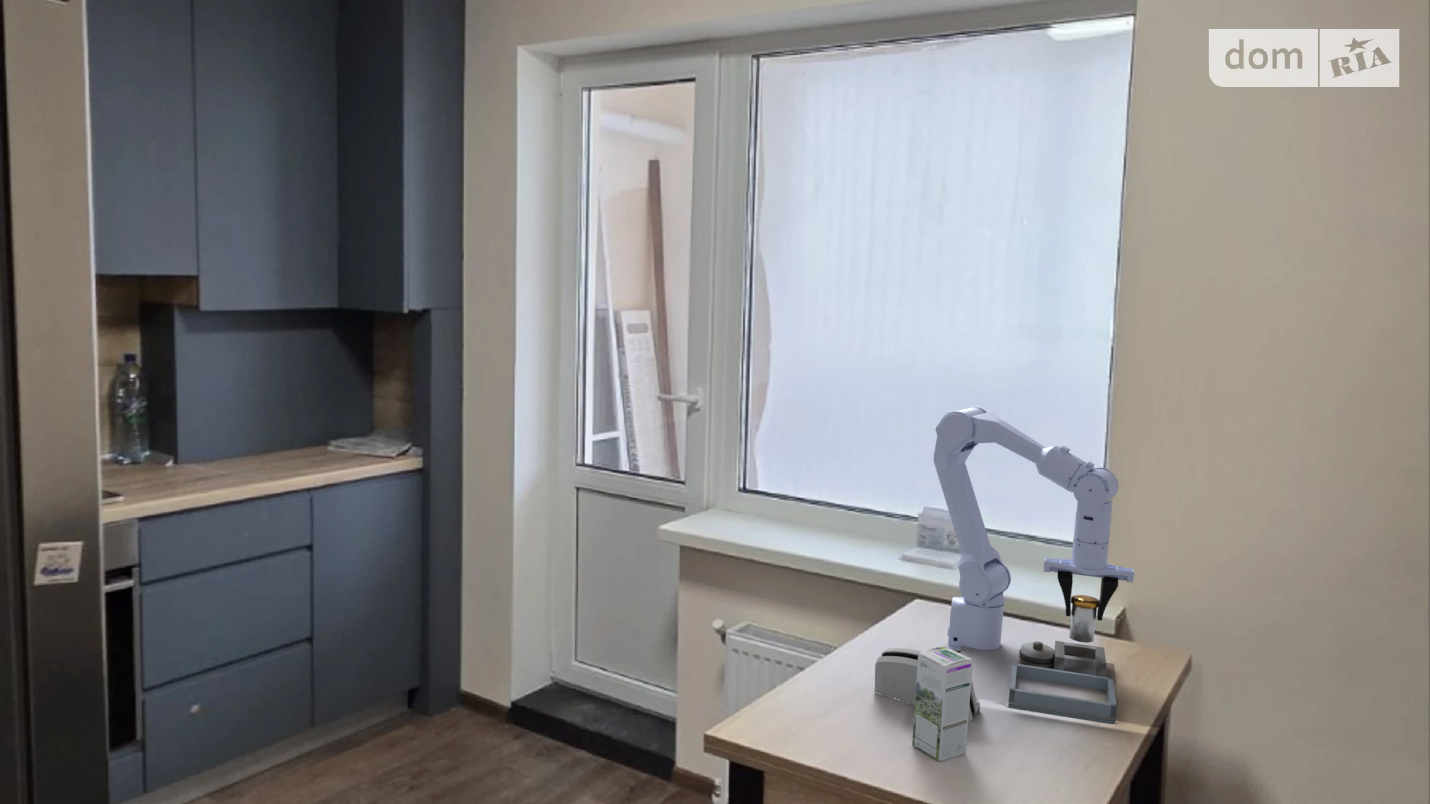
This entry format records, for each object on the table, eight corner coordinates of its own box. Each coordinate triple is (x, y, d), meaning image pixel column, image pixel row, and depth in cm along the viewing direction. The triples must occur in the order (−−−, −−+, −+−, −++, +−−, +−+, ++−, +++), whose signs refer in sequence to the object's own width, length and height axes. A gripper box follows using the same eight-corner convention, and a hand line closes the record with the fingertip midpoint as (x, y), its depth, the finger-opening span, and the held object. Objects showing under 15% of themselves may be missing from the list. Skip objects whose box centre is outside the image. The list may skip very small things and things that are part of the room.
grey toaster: (982, 712, 170) (979, 661, 166) (970, 731, 167) (966, 679, 163) (887, 683, 180) (881, 634, 176) (874, 700, 176) (867, 651, 172)
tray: (1008, 707, 172) (1009, 689, 172) (1010, 679, 183) (1012, 663, 183) (1114, 724, 168) (1116, 706, 167) (1110, 695, 179) (1112, 678, 178)
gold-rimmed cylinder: (1067, 640, 185) (1071, 601, 184) (1067, 632, 189) (1071, 593, 188) (1096, 644, 184) (1100, 605, 183) (1094, 635, 188) (1098, 597, 187)
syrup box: (967, 754, 155) (975, 657, 153) (937, 763, 152) (945, 664, 150) (939, 738, 160) (946, 644, 158) (909, 746, 157) (916, 651, 155)
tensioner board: (1017, 675, 186) (1019, 650, 185) (1019, 655, 195) (1021, 631, 194) (1116, 690, 181) (1118, 664, 180) (1113, 669, 190) (1115, 644, 190)
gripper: (1046, 540, 182) (1039, 617, 184) (1138, 551, 178) (1130, 630, 180) (1046, 530, 189) (1039, 605, 191) (1135, 540, 185) (1127, 616, 187)
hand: (1083, 616), depth 186 cm, fingers closed on gold-rimmed cylinder, 4 cm apart
